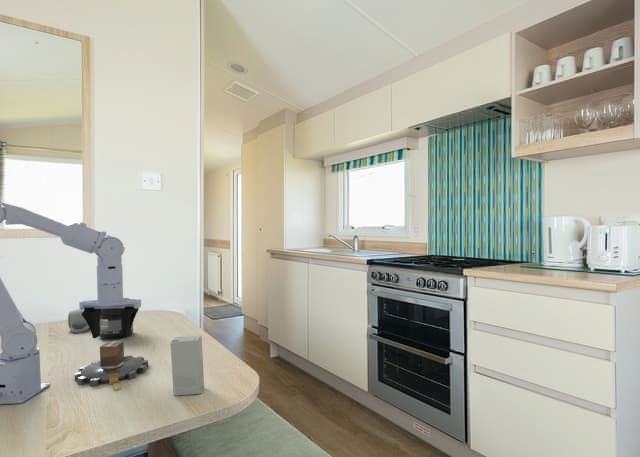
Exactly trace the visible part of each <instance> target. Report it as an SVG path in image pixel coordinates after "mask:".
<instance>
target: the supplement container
mask: <svg viewBox="0 0 640 457" xmlns="http://www.w3.org/2000/svg"><path fill="white" fill-rule="evenodd" d="M123 299H130V298H129V297H128V298H127V297H123ZM124 309H125V308H108V309H102V310H101V316H100V336H99V337H98V338H100V339H102V340H106V341H107V340H108V341H115V340H120V339H124V336H123V321H122V316H121V313H120V311H122V310H124ZM133 333H134V323H133V324H132V327H131V332H130V336H131V335H133Z"/></svg>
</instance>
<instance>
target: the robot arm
mask: <svg viewBox="0 0 640 457" xmlns="http://www.w3.org/2000/svg"><path fill="white" fill-rule="evenodd" d="M0 203H1V204H0V224H1V223H3V221H5V223H4V225H6V226H8V225H9V226H11V225H24V226H26V227H29V228H32V229H36V230H39V231H40V232H41V231H42V232H45V233H48V234H50V235H54V236H57V237H59V238H60V240H61V242H62V244H63V245H65V246H68V247H71V248H73V249H77V250H79V251H82V252H85V253H88V254H95V255H96V256H97V257H96V258H97V259H96V260H97V261H96V262H97V264H96V287H97V291H96V292H97V299H90V300H89V299H88V300H82V301H79V309H80V310H84V312H82V316H83V317H84V319H85V320H86V322H87V324H88V325H89V330H90V333H91V336H92V339H96V338H100V337H99V336H100V316H101V310H102V309H108V308H125V309H124V310H122V311H120V313H121V316H122V321H123V336H124V338H128V337H130V336H131V335H130V332H131V327H132V324H133V325H134V320H135V317H136V316H137V313H138V312H139V309H140V308H142V299H139V298H138V299H133V298H129V299H123V298H124V285H123V284H124V280H123V275H124V274H123V264H122V263H123V262H122V260H123V258H122V255H124V253H125V250H126V248H125V246H124V243H123V242H122V241H121V239H120V238H117V237H116V236H111V235H107V231H104V230H102V231H99V230H96V229H93V228H90V227H88V226H87V224H86V223H85V222H82V221H81V222H78V223H77V222H71V223H69V224H65V223H61V222H60V221H59V222H58V221H57V220H54V219H52V218H49V217H47V216H44V215H41V214H40V213H37V212H34V211H32V210H30V209H27V208H24V207H22V206H18V205H13V204H10V203H5V202H0ZM0 338H1V341H0V348H1V351H2V352H1V353H0V405H5V404H6V405H7V404H8V405H9V404H23V403H24V402H27V401H28V400H30V399H31V398H32V397H34V396H35V395H37V394H38V393H39V392H40V393H41V392H42V391H43V390H45V389H46V388H48V387H49V386H50V385H51V383H50V382H45V383H44V382H41V381H42V379H41V377H42V376H41V356H40V354H41V353H40V352H41V351H40V347H38V346H37V345H38V341H39V340H38V336H37V330H36V326H34V324H33V323H32V322H29V321H28V320H26V319H25V317H24V316H23V314H22V313H21V311H20V310H19V309H18V307H17V305H16V303H15V301H14V300H13V298H12V295H11V294H10V292H9V291H8V289H7V287H6V285H5V283H4V282H3V279H2V278H1V277H0ZM124 338H123V339H124Z"/></svg>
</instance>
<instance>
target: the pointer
mask: <svg viewBox="0 0 640 457" xmlns="http://www.w3.org/2000/svg"><path fill="white" fill-rule="evenodd" d="M112 385H113V390H114V392H115V391H119V390H121V386H120V382H118V383H116V384H112Z"/></svg>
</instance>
